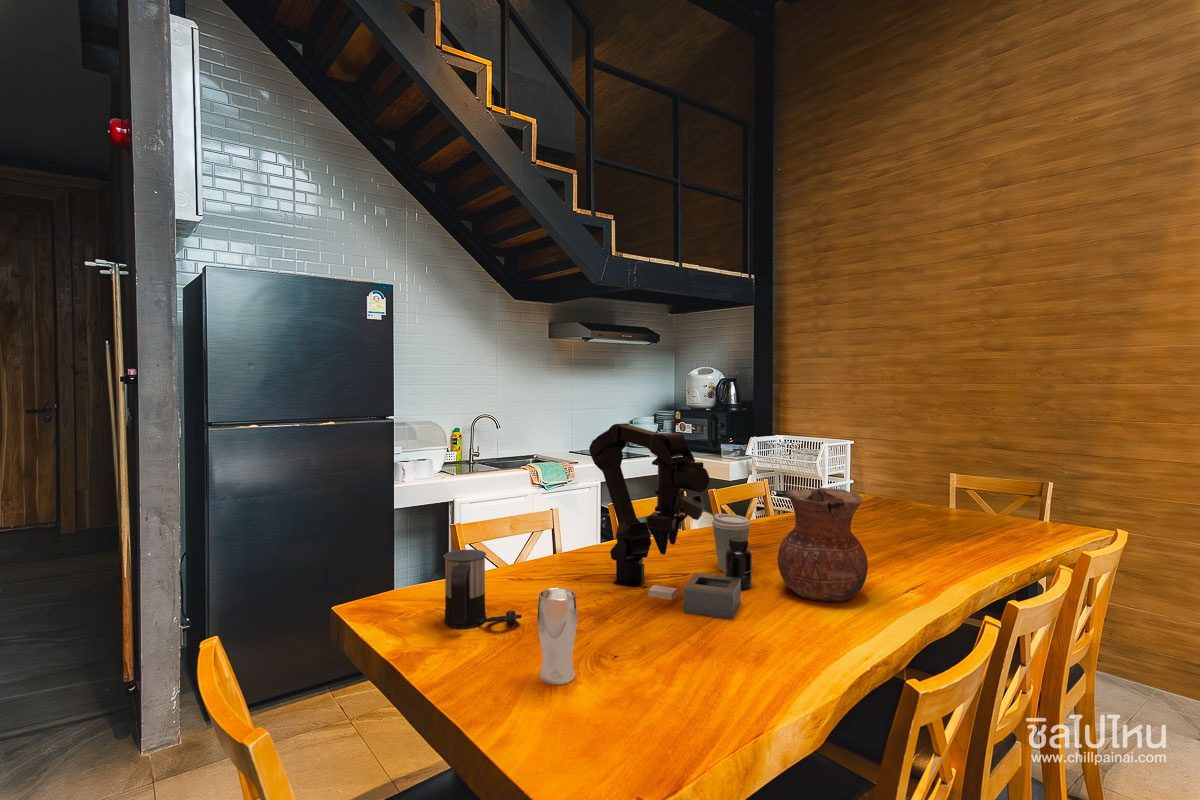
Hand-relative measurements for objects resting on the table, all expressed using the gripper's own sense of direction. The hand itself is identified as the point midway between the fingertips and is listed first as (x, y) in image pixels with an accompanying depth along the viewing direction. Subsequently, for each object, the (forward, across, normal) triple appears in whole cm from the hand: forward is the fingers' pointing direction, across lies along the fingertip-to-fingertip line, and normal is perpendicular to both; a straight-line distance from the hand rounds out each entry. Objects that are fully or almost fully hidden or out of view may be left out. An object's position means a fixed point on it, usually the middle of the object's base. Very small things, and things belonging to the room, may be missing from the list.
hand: (668, 549), depth 154 cm
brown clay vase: (+11, +16, -35) cm, 40 cm away
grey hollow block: (+11, -4, -12) cm, 17 cm away
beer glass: (+11, -48, +8) cm, 50 cm away
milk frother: (+12, -30, +33) cm, 47 cm away
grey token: (+12, 0, +1) cm, 12 cm away
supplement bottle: (+12, +14, -15) cm, 24 cm away
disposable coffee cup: (+12, +27, -11) cm, 32 cm away
